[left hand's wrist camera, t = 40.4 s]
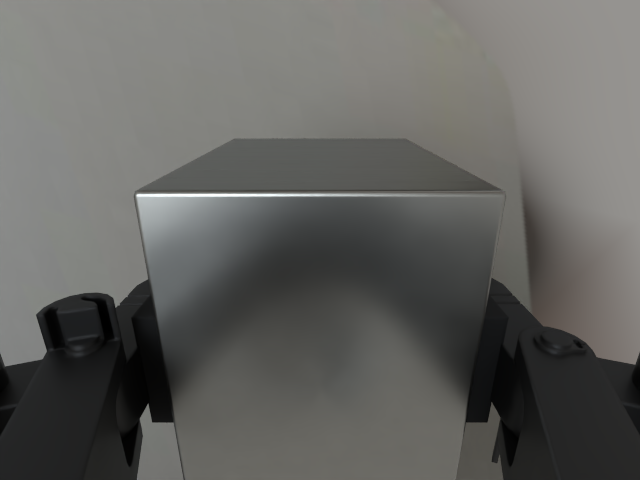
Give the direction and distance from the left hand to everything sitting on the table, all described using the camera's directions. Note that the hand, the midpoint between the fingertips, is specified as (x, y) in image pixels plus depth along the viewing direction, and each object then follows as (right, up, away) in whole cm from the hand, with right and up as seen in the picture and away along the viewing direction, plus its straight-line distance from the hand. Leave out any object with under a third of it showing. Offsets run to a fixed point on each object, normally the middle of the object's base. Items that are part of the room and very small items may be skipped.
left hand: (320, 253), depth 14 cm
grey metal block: (0, 0, 0) cm, 0 cm away
